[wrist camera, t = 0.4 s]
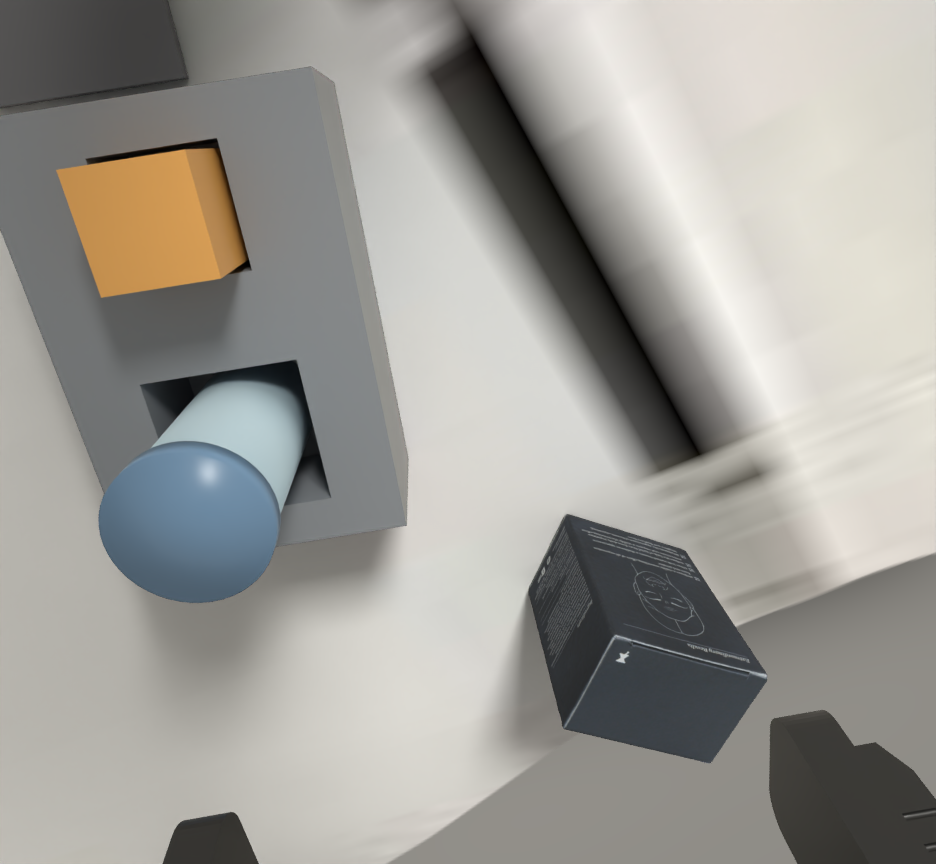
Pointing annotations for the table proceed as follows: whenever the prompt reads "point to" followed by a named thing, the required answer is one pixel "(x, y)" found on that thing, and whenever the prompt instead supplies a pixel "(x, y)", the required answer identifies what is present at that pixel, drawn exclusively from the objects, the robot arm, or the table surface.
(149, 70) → the mat
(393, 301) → the table surface
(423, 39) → the table surface
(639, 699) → the box
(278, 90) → the housing
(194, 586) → the cartridge
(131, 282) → the orange rectangular block
